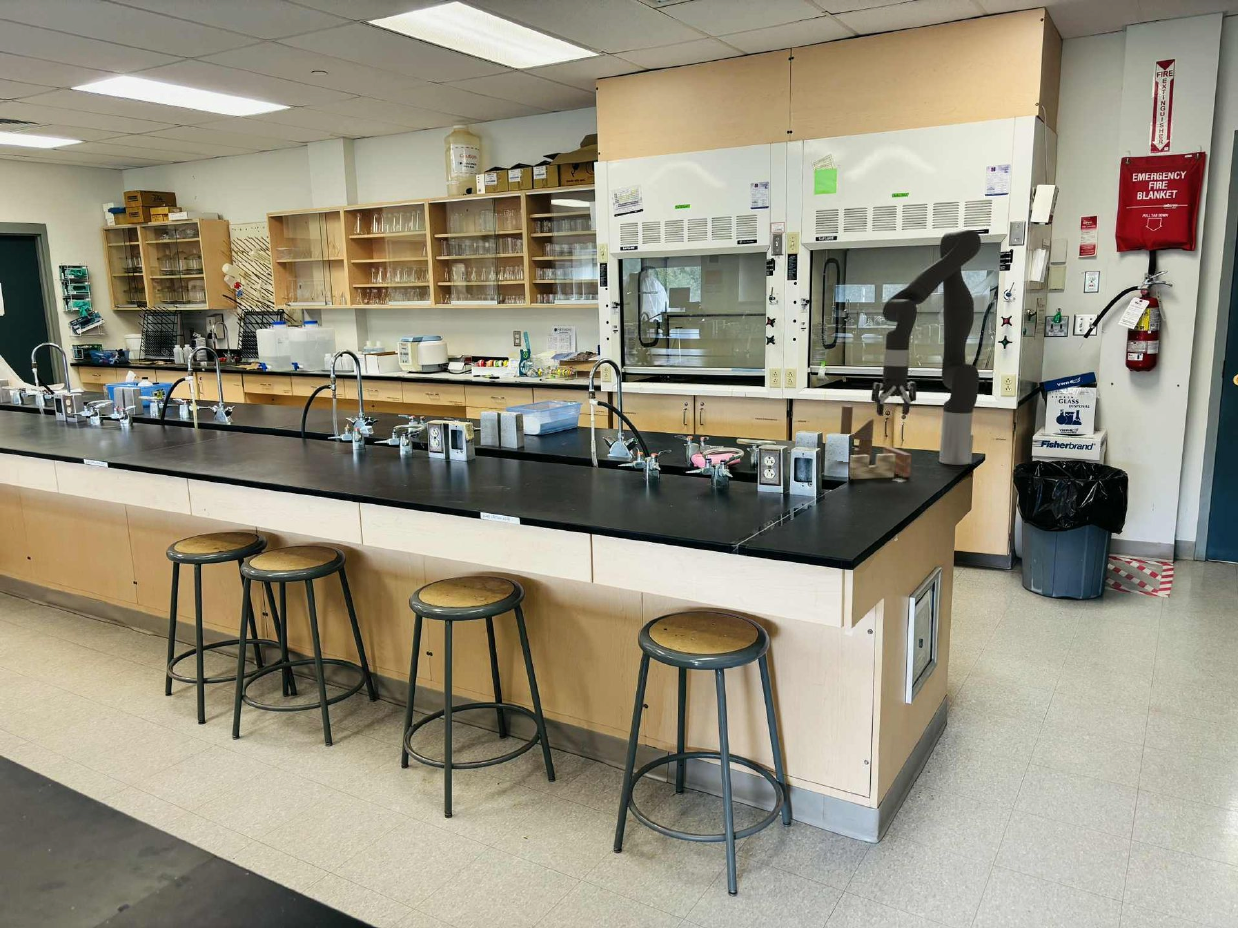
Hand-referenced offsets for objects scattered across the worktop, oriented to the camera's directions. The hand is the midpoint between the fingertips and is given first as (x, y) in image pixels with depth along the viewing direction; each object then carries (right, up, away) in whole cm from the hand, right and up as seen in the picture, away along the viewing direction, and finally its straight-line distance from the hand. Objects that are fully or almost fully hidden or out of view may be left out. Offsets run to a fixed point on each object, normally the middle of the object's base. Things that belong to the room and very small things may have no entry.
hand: (892, 415), depth 274 cm
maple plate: (-9, -20, -7) cm, 23 cm away
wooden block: (-7, -14, +20) cm, 25 cm away
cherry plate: (+1, -18, 0) cm, 18 cm away
